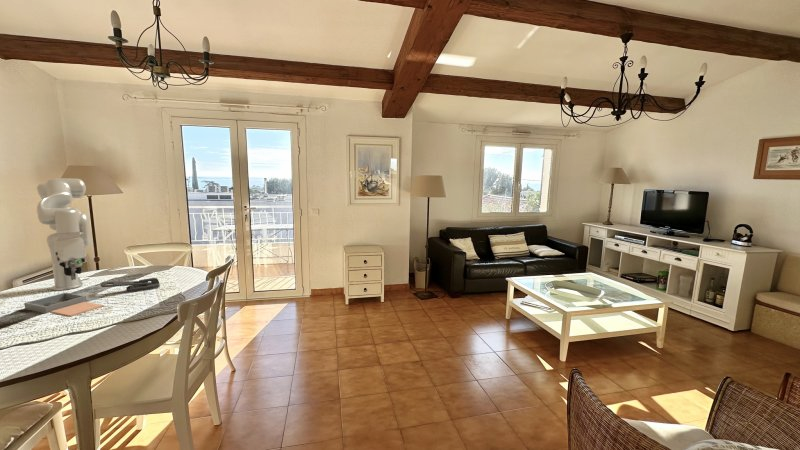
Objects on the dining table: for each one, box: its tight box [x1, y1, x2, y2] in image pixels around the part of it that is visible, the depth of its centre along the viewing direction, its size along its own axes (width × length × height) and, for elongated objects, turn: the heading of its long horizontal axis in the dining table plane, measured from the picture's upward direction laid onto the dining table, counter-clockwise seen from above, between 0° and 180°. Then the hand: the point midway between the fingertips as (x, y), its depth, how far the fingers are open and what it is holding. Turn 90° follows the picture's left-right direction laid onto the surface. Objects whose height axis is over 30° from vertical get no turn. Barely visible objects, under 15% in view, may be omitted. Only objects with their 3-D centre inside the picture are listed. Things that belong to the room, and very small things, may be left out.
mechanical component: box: [61, 259, 83, 280], centre depth 154 cm, size 3×10×10 cm, turn 77°
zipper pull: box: [100, 277, 161, 293], centre depth 183 cm, size 9×7×25 cm
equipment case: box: [23, 291, 106, 314], centre depth 164 cm, size 24×16×3 cm, turn 163°
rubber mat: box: [50, 301, 105, 317], centre depth 156 cm, size 13×14×1 cm
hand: (73, 274), depth 154 cm, fingers closed on mechanical component, 3 cm apart
